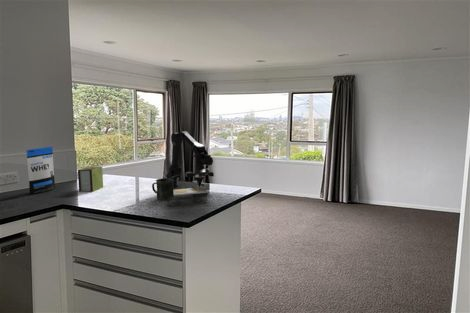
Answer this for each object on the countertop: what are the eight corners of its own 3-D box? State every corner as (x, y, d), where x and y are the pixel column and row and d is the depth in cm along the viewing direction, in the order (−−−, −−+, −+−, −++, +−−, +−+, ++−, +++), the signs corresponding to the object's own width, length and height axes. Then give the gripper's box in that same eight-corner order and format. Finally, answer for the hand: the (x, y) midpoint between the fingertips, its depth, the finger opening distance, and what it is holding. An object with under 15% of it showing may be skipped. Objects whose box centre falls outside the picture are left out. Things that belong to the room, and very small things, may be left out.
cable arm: (191, 186, 247) (190, 181, 247) (195, 186, 250) (195, 180, 249) (205, 190, 235) (205, 184, 234) (209, 189, 237) (209, 183, 237)
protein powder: (23, 194, 233) (20, 149, 230) (49, 187, 257) (46, 146, 253) (36, 195, 231) (32, 150, 228) (60, 187, 255) (58, 146, 252)
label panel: (169, 191, 241) (168, 189, 241) (202, 188, 251) (202, 186, 251) (174, 195, 228) (173, 193, 228) (209, 192, 237) (208, 190, 237)
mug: (169, 201, 214) (168, 181, 212) (148, 199, 218) (147, 180, 217) (177, 197, 224) (176, 178, 223) (157, 195, 228) (156, 177, 227)
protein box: (103, 187, 256) (102, 166, 254) (93, 192, 241) (91, 169, 239) (89, 187, 257) (88, 166, 255) (78, 191, 242) (77, 169, 240)
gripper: (189, 165, 225) (189, 189, 227) (216, 165, 232) (216, 188, 234) (184, 163, 236) (184, 186, 237) (211, 163, 243) (210, 185, 244)
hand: (199, 186), depth 238 cm, fingers closed
